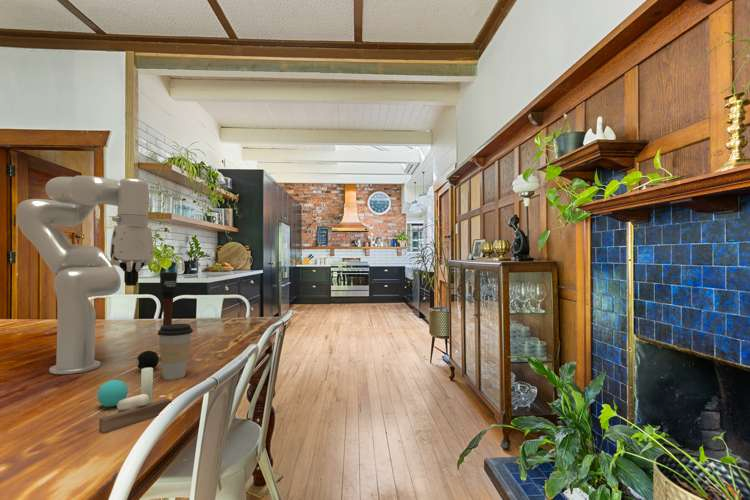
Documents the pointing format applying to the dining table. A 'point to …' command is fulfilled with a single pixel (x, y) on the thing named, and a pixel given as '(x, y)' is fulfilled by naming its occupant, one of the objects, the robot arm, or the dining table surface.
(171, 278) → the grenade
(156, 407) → the walnut rail
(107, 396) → the ball
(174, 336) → the coffee cup
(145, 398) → the cream pin
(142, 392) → the sage pin
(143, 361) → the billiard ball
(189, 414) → the dining table surface
